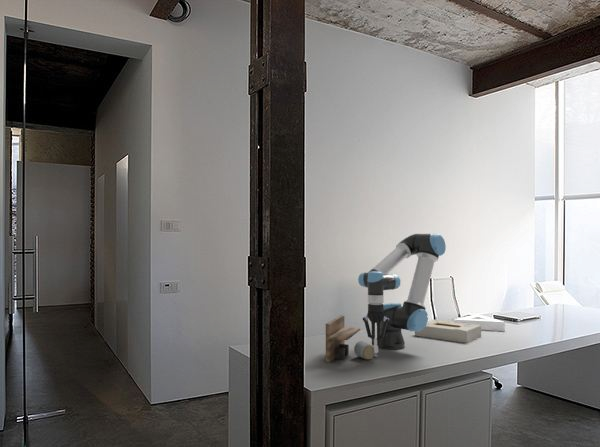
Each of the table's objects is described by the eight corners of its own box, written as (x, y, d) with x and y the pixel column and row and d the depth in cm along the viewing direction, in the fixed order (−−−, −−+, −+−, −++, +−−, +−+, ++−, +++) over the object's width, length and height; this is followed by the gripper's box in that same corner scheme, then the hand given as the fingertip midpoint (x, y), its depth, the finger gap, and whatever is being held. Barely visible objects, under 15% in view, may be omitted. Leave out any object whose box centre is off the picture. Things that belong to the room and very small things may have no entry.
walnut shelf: (360, 351, 249) (360, 316, 249) (347, 364, 224) (347, 325, 225) (340, 349, 252) (340, 315, 253) (325, 362, 228) (325, 323, 228)
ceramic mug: (363, 361, 229) (363, 344, 229) (353, 357, 236) (353, 341, 237) (381, 358, 234) (381, 342, 234) (371, 355, 241) (371, 339, 242)
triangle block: (454, 329, 310) (454, 319, 310) (454, 322, 334) (454, 313, 334) (504, 332, 300) (504, 321, 300) (501, 324, 325) (501, 315, 325)
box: (414, 336, 288) (467, 343, 267) (414, 323, 288) (467, 329, 268) (430, 331, 306) (481, 337, 285) (430, 318, 306) (481, 324, 286)
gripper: (360, 303, 232) (361, 353, 231) (387, 305, 227) (388, 355, 227) (364, 301, 239) (364, 349, 238) (390, 303, 234) (390, 351, 234)
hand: (376, 352), depth 233 cm, fingers closed
